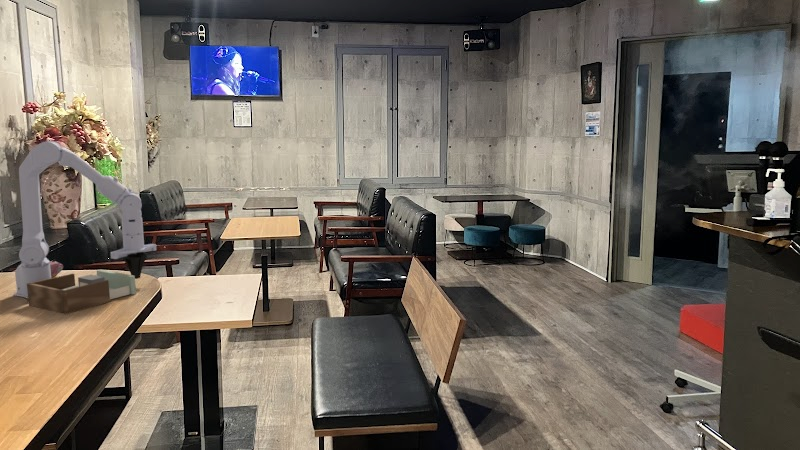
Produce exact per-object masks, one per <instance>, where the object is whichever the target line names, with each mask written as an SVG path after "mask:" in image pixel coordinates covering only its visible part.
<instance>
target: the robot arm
mask: <svg viewBox="0 0 800 450" xmlns="http://www.w3.org/2000/svg"><path fill="white" fill-rule="evenodd" d="M58 162H59V163H58ZM56 163H58V166H60V167H69V168H71V169H73V170H75V171H76V172H78V173H79V174H80V175H82V176H84V177H85V178H86V179H88V181H91V182H92V183H93V184H94V185H96V189H95V190H96V191H97V192H98V193H99V194H101V195H102V196H104V197H105V198H106V199H108V200H109V201H110V202H112V203H113V204H115V205H118V206H119V208H120V211H121V215H122V217H121V228H122V229H121V233H122V242H123V244H122V245H123V248H120V249H117V250H114V251H110V259H113V260H118V259H120V258H122V260H123V261H124V262H125V264H126V266H127V268H128V271H129V272H130V275H133V276H135V280H137V279H140V278H141V275H142V270H143V266H144V264H145V261H146V259H147V257H148V254H147V253H148V252H152V251H153V252H155V251H157V244H156V243H148V244H145V240H144V238H145V237H144V226H143V225H144V224H143V223H144V222H143V217H142V216H143V215H142V207H143V203H142V199H141V197H140V196H139V195H138V194H137V193H136V192H134V191H133V189H132V188H130V187H129V188H127V187H126V186H125V185H124V184H123V183H121V182H119V178H118V177H117V176H114V177H113V176H112V175H103V174H102V173H100V171H98V170H97V169H95V168H94V167H93V166H91V165H90V164H89V163H88V162H86V160H84V159H83V158H82V157H80V156H79V155H78V154H76V153H75V152H73V151H72V150H70V149H69V148H68V147H67V148H66V147H65V146H62V145H61V144H60V143H59V142H57V141H55V140H46V141H42V142H39V143H38V144H37V145H35V146H34V147H32V148H31V149H30V151H29V152H28V154H27V156H26V157H25V159H24V160H23V161H22V163H21V164H20V166H19V168H18V176H19V177H18V178H19V191H20V205H21V218H22V237H21V238H22V239H21V248H20V250H19V252H18V256H19V257H18V258H19V260H20V262H21V263H20V264H19V265H18V266H17V267H16V269H15V272H14V274H15V275H14V276H15V284H16V285H15V288H16V292H14V293H13V296H17V297H21V298H26V299H28V292H27V284H28V283H32V282H37V281H41V280H46V279H50V278H51V269H50V262H51V261H50V260H49V258H47V256H48V255H49V252H50V247H49V244H48V243H47V242H46V239H45V233H44V228H43V227H44V226H43V216H42V215H43V213H42V201H41V200H42V199H41V185H40V174H42V173H43V171H45V170H46V169H47V168H48V167H50V166H52V165H54V164H56Z"/></svg>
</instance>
